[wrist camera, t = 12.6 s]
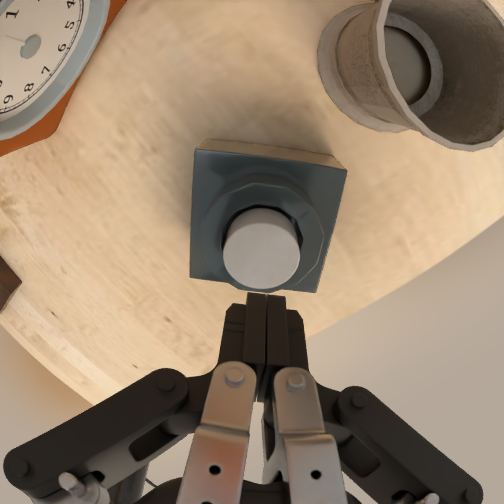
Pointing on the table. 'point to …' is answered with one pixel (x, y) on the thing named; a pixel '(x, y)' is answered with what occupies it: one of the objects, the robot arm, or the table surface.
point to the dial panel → (7, 284)
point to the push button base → (263, 204)
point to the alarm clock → (44, 62)
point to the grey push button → (261, 249)
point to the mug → (442, 69)
